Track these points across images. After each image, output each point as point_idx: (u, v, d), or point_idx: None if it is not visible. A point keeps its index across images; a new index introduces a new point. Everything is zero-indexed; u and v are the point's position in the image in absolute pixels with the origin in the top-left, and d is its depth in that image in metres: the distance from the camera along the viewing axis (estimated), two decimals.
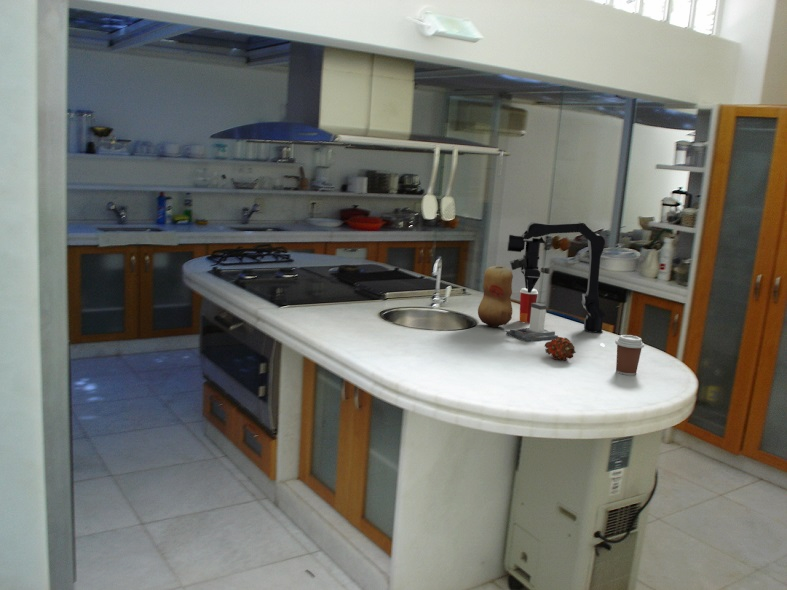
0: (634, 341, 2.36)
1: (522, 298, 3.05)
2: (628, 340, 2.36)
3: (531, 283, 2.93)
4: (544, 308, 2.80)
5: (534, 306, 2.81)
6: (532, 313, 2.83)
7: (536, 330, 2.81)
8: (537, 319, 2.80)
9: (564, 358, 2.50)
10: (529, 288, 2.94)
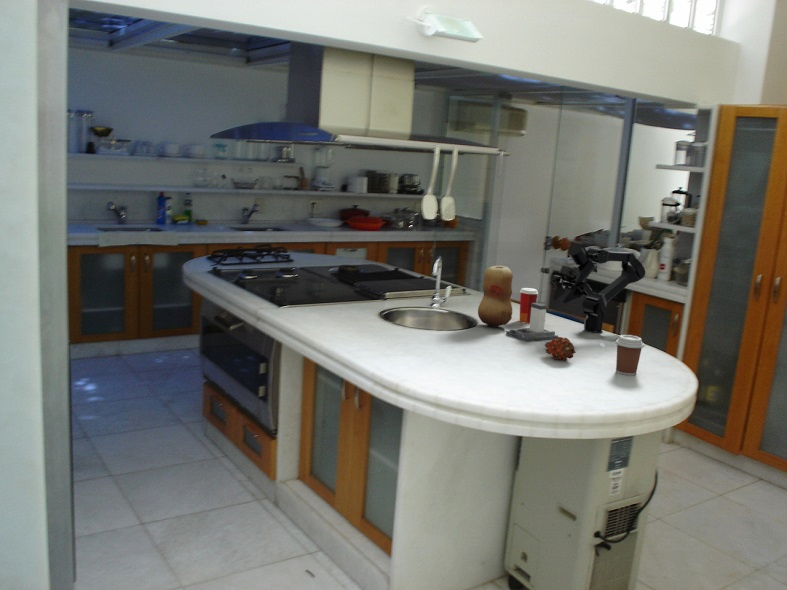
0: (634, 341, 2.36)
1: (522, 298, 3.05)
2: (628, 340, 2.36)
3: (572, 296, 2.84)
4: (544, 308, 2.80)
5: (534, 306, 2.81)
6: (532, 313, 2.83)
7: (536, 330, 2.81)
8: (537, 319, 2.80)
9: (564, 358, 2.50)
10: (567, 299, 2.84)
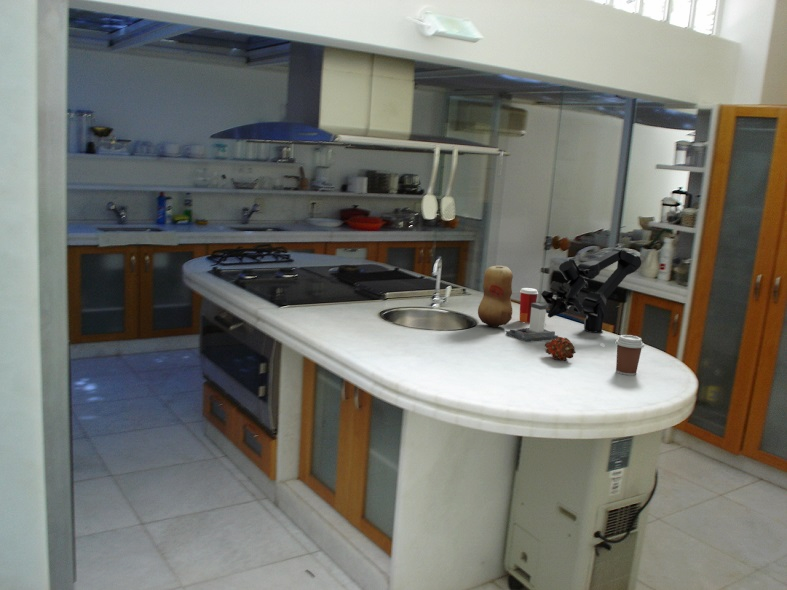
0: (634, 341, 2.36)
1: (522, 298, 3.05)
2: (628, 340, 2.36)
3: (557, 310, 2.85)
4: (544, 308, 2.80)
5: (534, 306, 2.81)
6: (532, 313, 2.83)
7: (536, 330, 2.81)
8: (537, 319, 2.80)
9: (564, 358, 2.50)
10: (553, 313, 2.85)
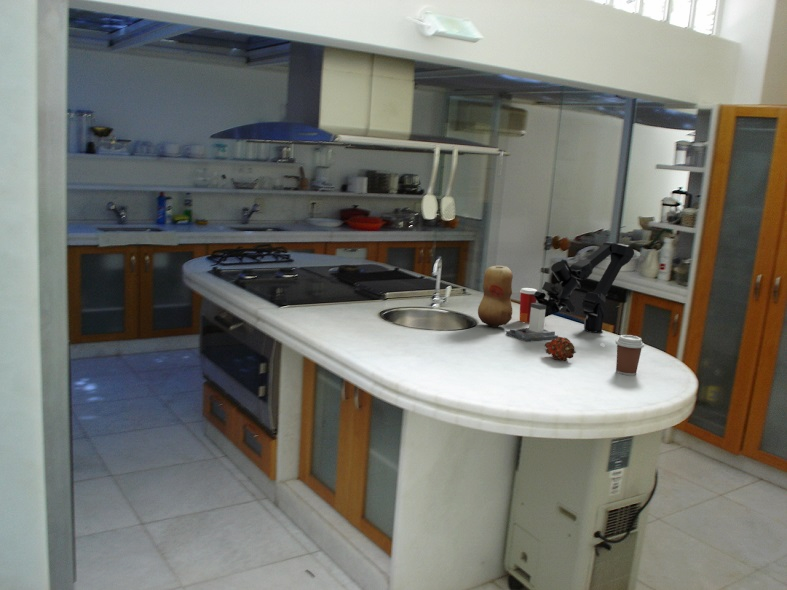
0: (634, 341, 2.36)
1: (522, 298, 3.05)
2: (628, 340, 2.36)
3: (549, 311, 2.83)
4: (543, 309, 2.79)
5: (534, 306, 2.81)
6: (532, 313, 2.83)
7: (536, 330, 2.81)
8: (537, 319, 2.80)
9: (564, 358, 2.50)
10: (545, 314, 2.83)
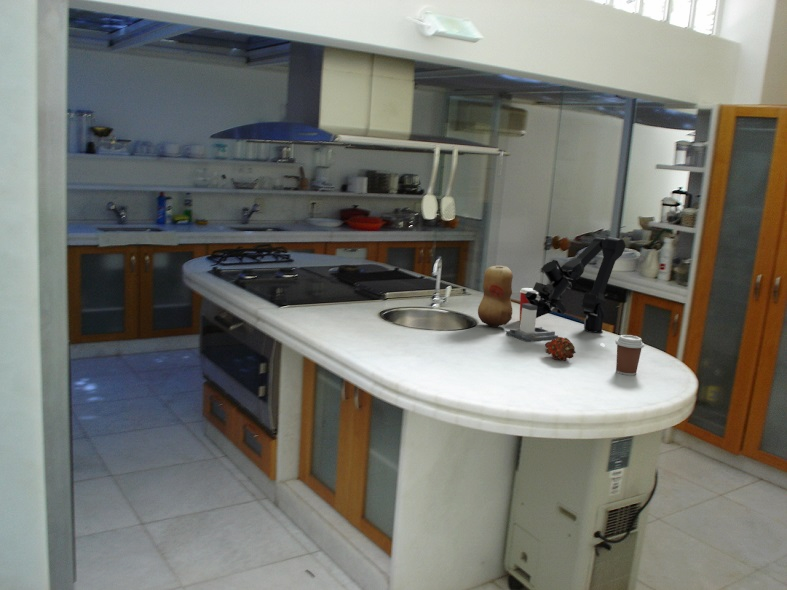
0: (634, 341, 2.36)
1: (522, 298, 3.05)
2: (628, 340, 2.36)
3: (541, 312, 2.81)
4: (534, 309, 2.77)
5: (525, 307, 2.79)
6: (523, 314, 2.80)
7: (527, 331, 2.79)
8: (528, 320, 2.78)
9: (564, 358, 2.50)
10: (536, 315, 2.80)
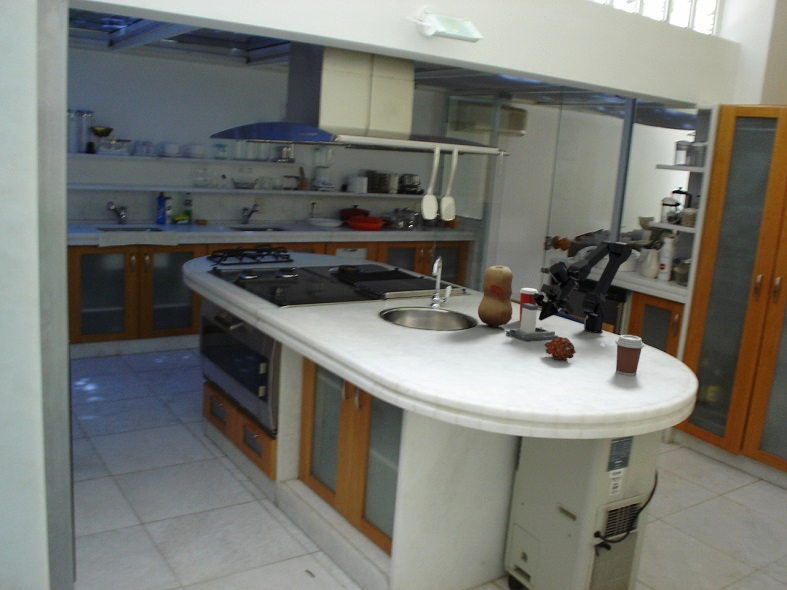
0: (634, 341, 2.36)
1: (522, 298, 3.05)
2: (628, 340, 2.36)
3: (548, 313, 2.83)
4: (535, 309, 2.77)
5: (526, 307, 2.79)
6: (523, 314, 2.80)
7: (527, 331, 2.79)
8: (528, 320, 2.78)
9: (564, 358, 2.50)
10: (543, 316, 2.83)
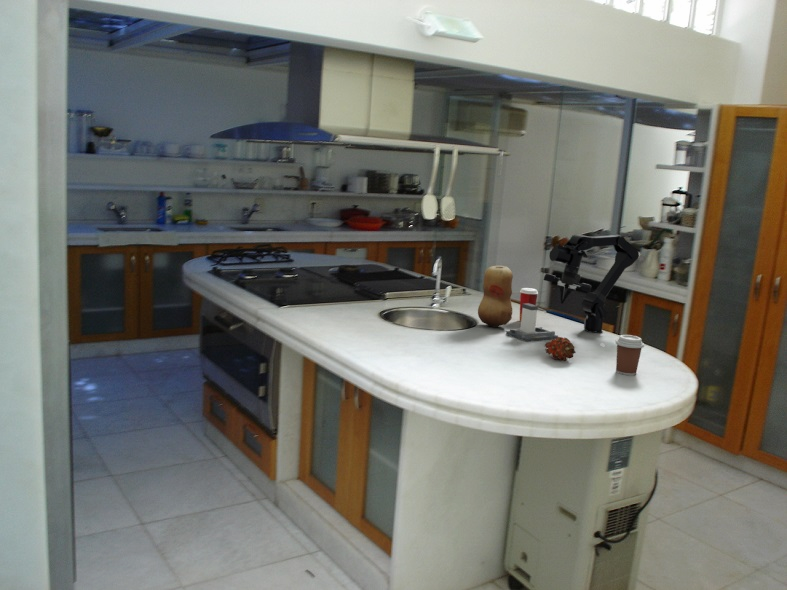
0: (634, 341, 2.36)
1: (522, 298, 3.05)
2: (628, 340, 2.36)
3: None
4: (535, 309, 2.77)
5: (526, 307, 2.79)
6: (523, 314, 2.80)
7: (527, 331, 2.79)
8: (528, 320, 2.78)
9: (564, 358, 2.50)
10: None
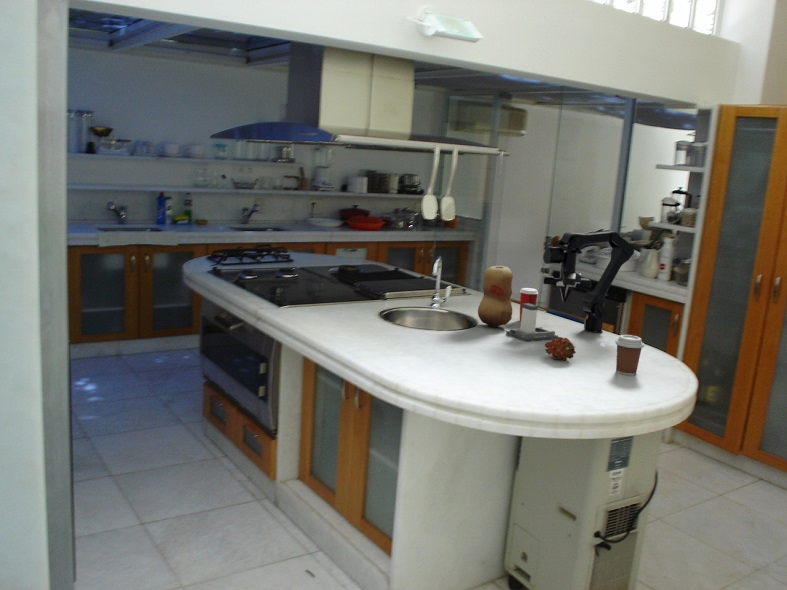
0: (634, 341, 2.36)
1: (522, 298, 3.05)
2: (628, 340, 2.36)
3: None
4: (535, 309, 2.77)
5: (526, 307, 2.79)
6: (523, 314, 2.80)
7: (527, 331, 2.79)
8: (528, 320, 2.78)
9: (564, 358, 2.50)
10: None
